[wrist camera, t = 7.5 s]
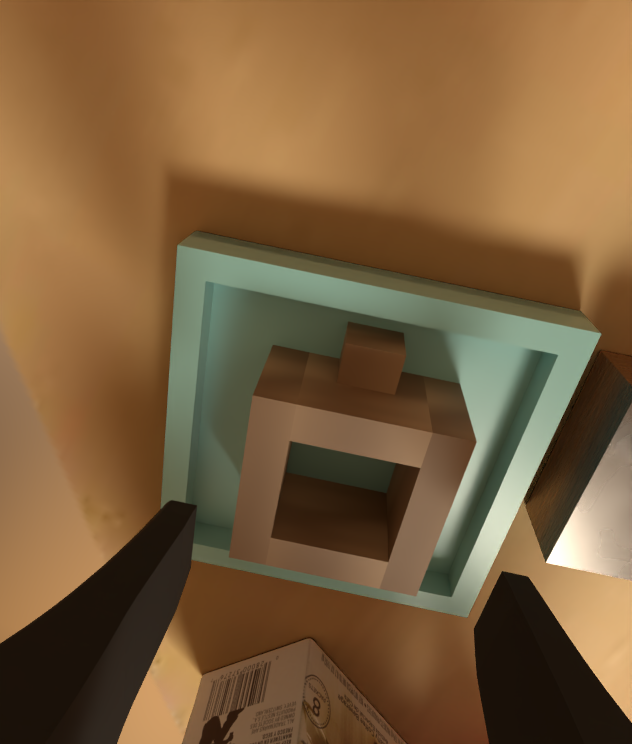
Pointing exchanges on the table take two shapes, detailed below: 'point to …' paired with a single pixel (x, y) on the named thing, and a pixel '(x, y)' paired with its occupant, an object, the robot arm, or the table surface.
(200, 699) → the coffee box
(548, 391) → the tray
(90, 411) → the table surface
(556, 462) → the block
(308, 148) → the table surface
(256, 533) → the ring
